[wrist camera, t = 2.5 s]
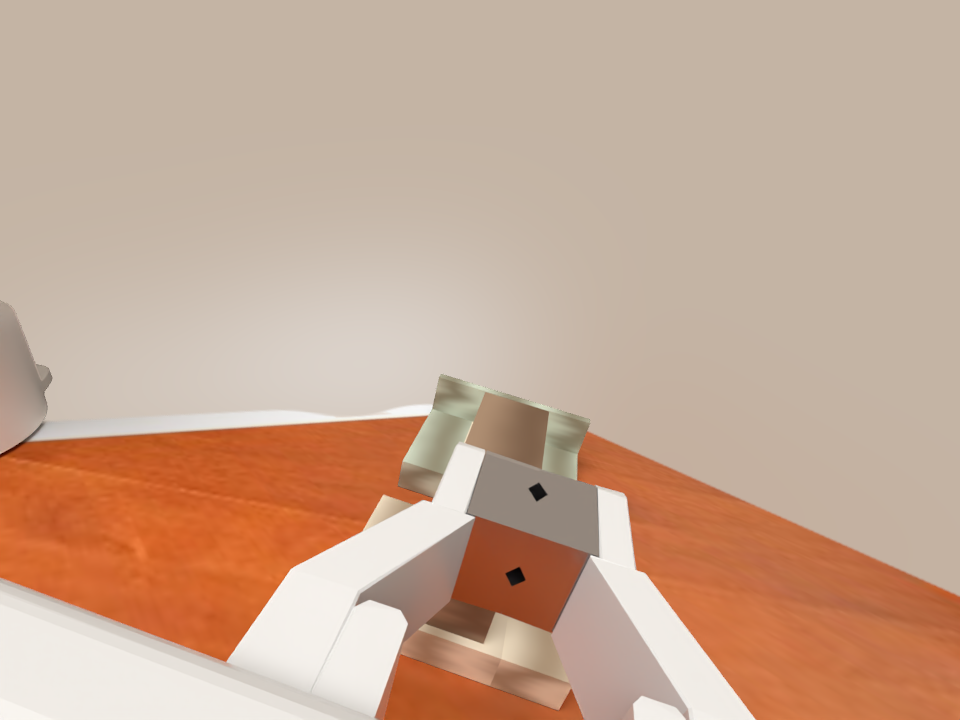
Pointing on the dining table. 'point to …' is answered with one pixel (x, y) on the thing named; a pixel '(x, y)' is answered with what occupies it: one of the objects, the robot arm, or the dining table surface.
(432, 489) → the cream block stand
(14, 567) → the dining table surface
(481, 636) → the walnut block
